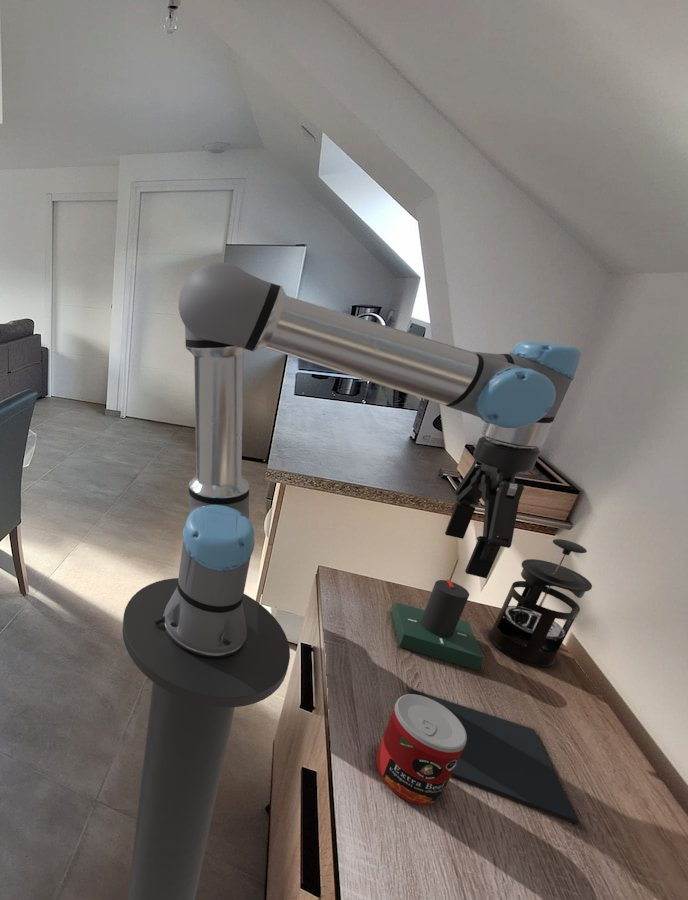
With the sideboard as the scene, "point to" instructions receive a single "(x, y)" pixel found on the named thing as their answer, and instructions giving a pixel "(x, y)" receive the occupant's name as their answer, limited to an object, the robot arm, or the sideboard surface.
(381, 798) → the sideboard surface
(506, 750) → the mat
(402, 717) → the canned food
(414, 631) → the panel
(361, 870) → the sideboard surface
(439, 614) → the knob
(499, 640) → the french press
